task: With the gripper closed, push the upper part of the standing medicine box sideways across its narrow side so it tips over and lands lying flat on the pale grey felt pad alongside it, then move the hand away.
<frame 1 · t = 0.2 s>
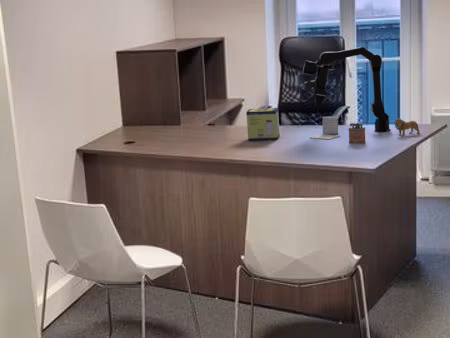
hand: (316, 106, 372), 15 cm above the table, tool pointing down, fingers open, 9 cm apart
lion figurine: (407, 135, 358), on the table
protein box: (264, 139, 376), on the table
lighter: (357, 143, 346), on the table
felt pad: (324, 137, 368), on the table
medicine box: (330, 134, 375), on the table, touching felt pad
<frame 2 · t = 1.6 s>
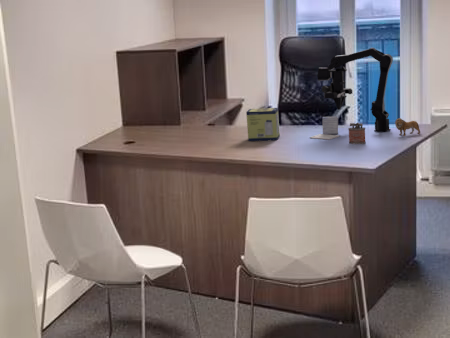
hand: (339, 109, 379), 12 cm above the table, tool pointing down, fingers closed
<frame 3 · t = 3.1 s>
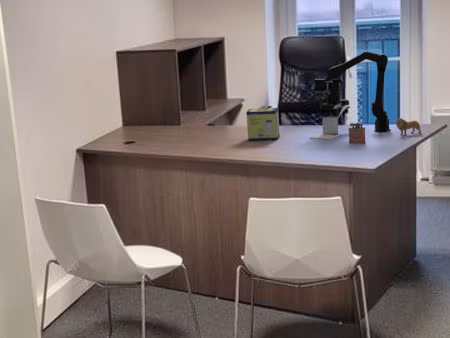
hand: (335, 120, 378), 6 cm above the table, tool pointing down, fingers closed
medicine box: (330, 134, 375), on the table, touching felt pad, gripper
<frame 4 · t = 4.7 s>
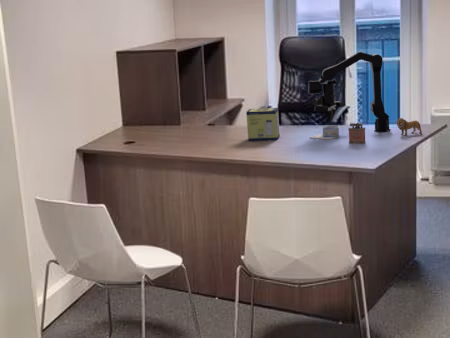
hand: (329, 122, 374), 6 cm above the table, tool pointing down, fingers closed
medicine box: (330, 129, 372), point 3 cm above the table, touching felt pad
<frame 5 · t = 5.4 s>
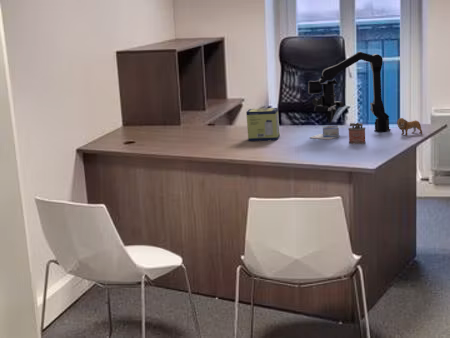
hand: (329, 122, 374), 6 cm above the table, tool pointing down, fingers closed
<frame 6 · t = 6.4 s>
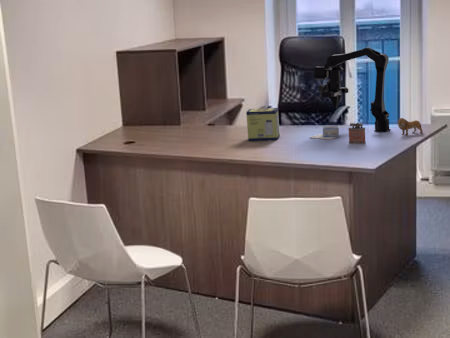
hand: (335, 108, 381), 12 cm above the table, tool pointing down, fingers closed
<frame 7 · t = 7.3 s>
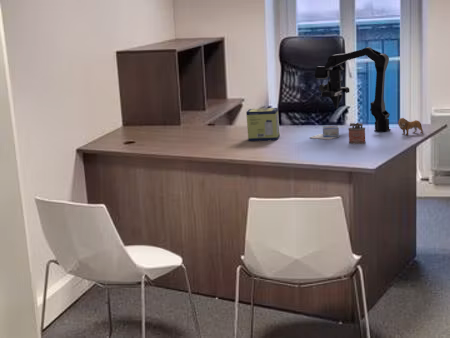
hand: (336, 108, 382), 12 cm above the table, tool pointing down, fingers closed
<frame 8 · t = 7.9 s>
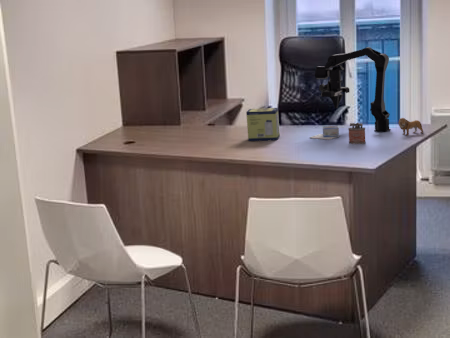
hand: (336, 108, 382), 12 cm above the table, tool pointing down, fingers closed
at the end: medicine box tilted 89°; medicine box inside the target area (5.9 cm from its centre), point 2.6 cm above the table; the gripper is holding nothing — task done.
